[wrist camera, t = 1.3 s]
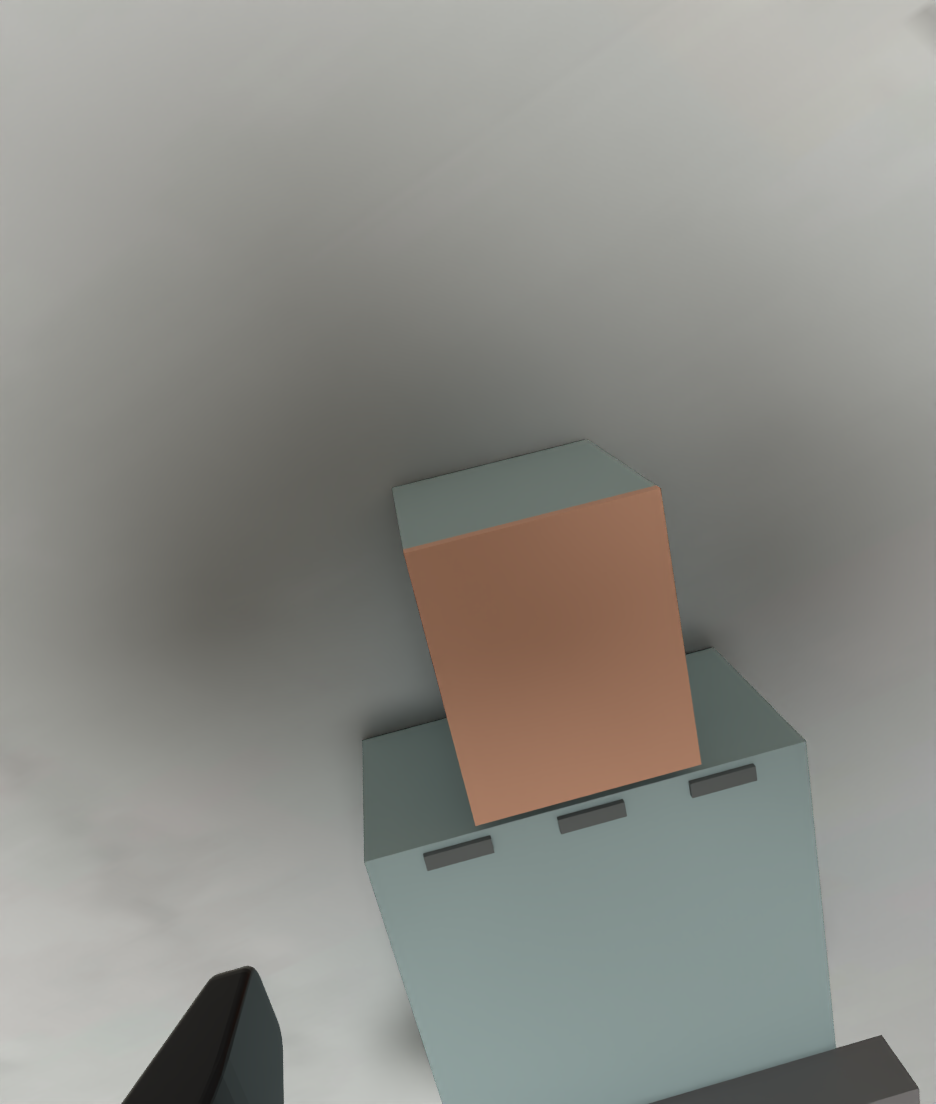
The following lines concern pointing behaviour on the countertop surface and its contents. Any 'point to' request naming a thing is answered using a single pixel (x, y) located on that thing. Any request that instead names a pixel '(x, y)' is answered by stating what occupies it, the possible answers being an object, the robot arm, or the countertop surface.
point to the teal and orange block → (550, 626)
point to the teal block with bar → (621, 925)
